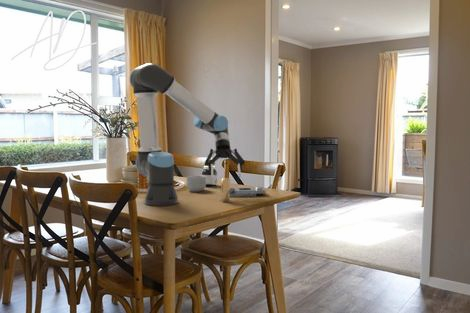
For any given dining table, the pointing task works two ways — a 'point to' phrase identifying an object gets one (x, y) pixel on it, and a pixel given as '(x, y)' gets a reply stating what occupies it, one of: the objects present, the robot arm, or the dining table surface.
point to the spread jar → (209, 180)
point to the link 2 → (250, 190)
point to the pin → (225, 190)
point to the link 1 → (233, 194)
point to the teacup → (196, 183)
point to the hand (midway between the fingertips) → (226, 175)
